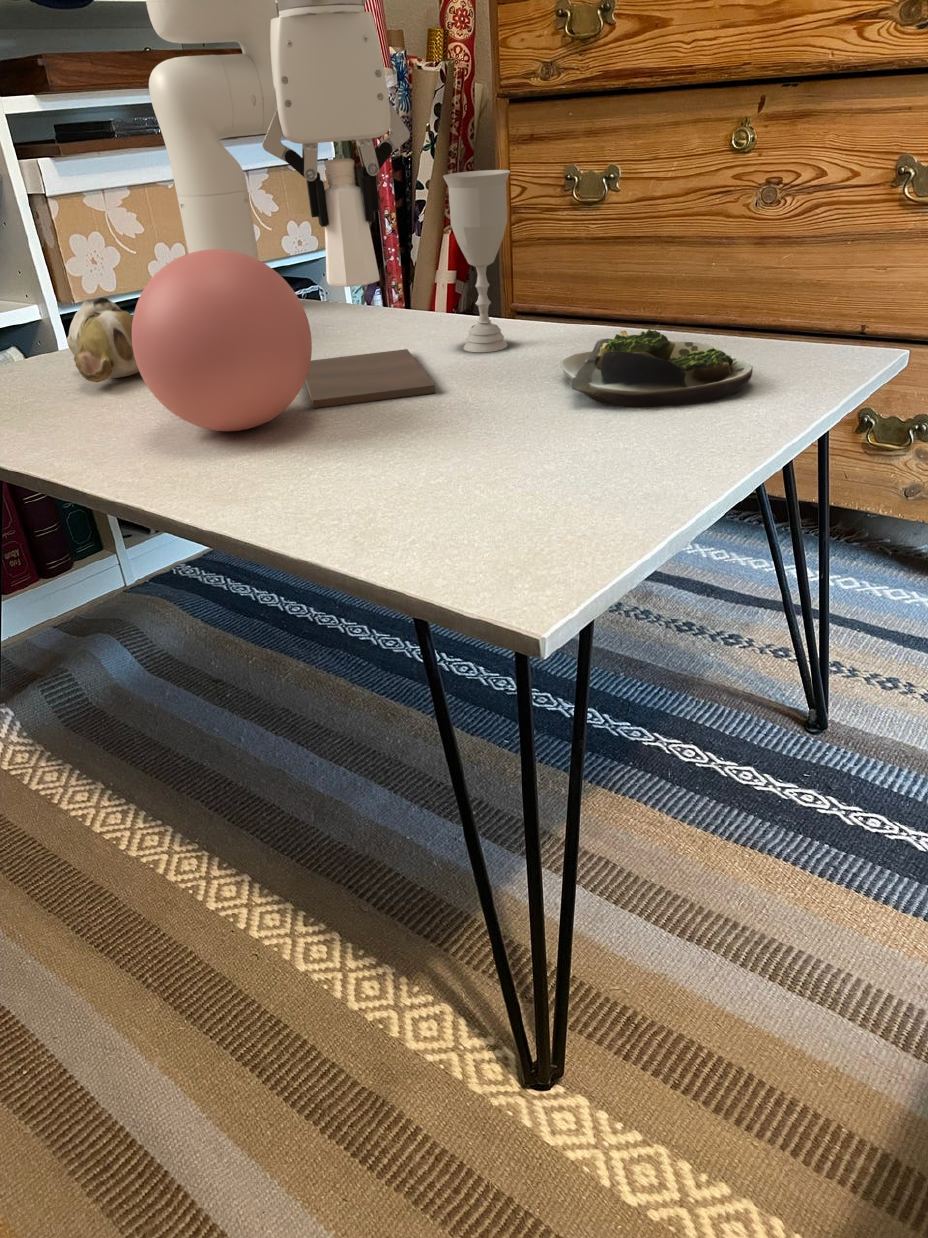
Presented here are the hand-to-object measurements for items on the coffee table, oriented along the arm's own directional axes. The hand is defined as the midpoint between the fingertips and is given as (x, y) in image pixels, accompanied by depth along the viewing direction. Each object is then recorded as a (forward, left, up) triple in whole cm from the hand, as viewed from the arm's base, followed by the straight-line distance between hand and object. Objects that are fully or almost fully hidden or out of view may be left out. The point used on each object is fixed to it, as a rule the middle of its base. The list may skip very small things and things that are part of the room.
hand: (346, 220), depth 91 cm
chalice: (-8, +15, -16) cm, 23 cm away
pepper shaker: (0, 0, -6) cm, 6 cm away
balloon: (+9, -14, -16) cm, 23 cm away
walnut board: (0, 0, -15) cm, 15 cm away
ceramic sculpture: (-15, -26, -16) cm, 34 cm away
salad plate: (+14, +26, -16) cm, 33 cm away
